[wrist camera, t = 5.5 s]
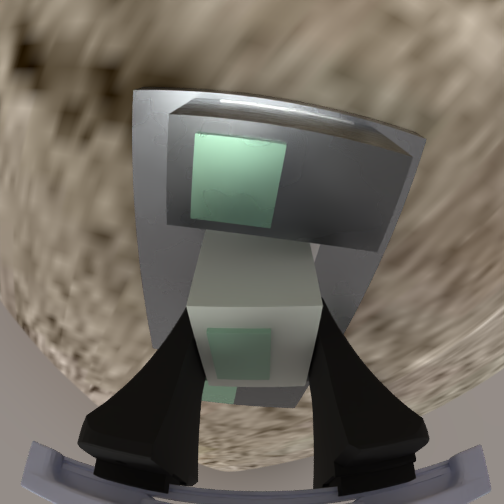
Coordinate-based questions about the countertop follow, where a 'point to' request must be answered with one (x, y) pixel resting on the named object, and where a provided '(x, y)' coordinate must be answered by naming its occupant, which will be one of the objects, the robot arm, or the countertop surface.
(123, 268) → the countertop surface
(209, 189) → the board
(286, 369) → the module
